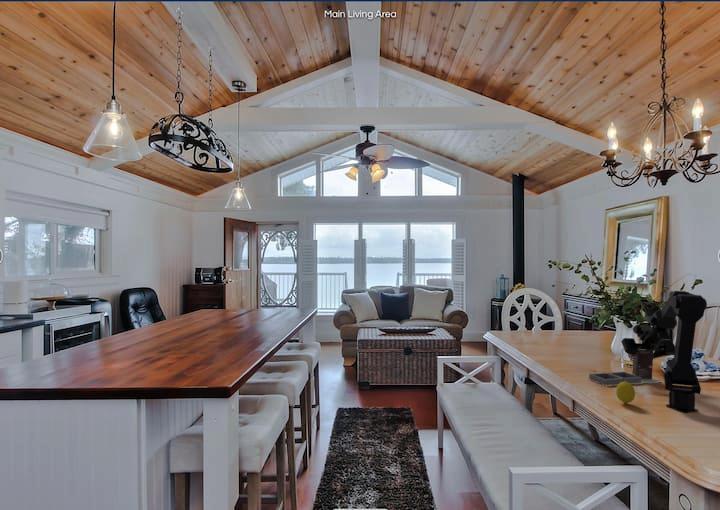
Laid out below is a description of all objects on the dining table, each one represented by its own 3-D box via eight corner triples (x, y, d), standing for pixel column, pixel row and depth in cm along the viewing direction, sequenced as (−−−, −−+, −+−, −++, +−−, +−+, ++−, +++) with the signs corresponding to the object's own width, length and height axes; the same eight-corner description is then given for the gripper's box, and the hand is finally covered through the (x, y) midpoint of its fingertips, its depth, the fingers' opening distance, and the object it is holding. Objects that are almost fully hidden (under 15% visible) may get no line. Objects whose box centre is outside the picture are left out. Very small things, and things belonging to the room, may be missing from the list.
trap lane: (661, 382, 174) (661, 376, 174) (606, 386, 168) (606, 380, 168) (640, 375, 184) (640, 370, 184) (587, 379, 178) (587, 373, 178)
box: (637, 378, 176) (638, 349, 176) (631, 375, 181) (632, 347, 180) (653, 379, 176) (653, 350, 175) (646, 376, 180) (647, 347, 180)
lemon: (625, 407, 145) (626, 383, 145) (612, 401, 150) (612, 379, 150) (638, 406, 147) (639, 382, 147) (624, 400, 152) (625, 378, 152)
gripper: (672, 320, 173) (656, 341, 184) (623, 318, 175) (610, 340, 186) (685, 343, 165) (667, 364, 176) (633, 341, 167) (619, 362, 178)
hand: (640, 357), depth 179 cm, fingers open, 9 cm apart
